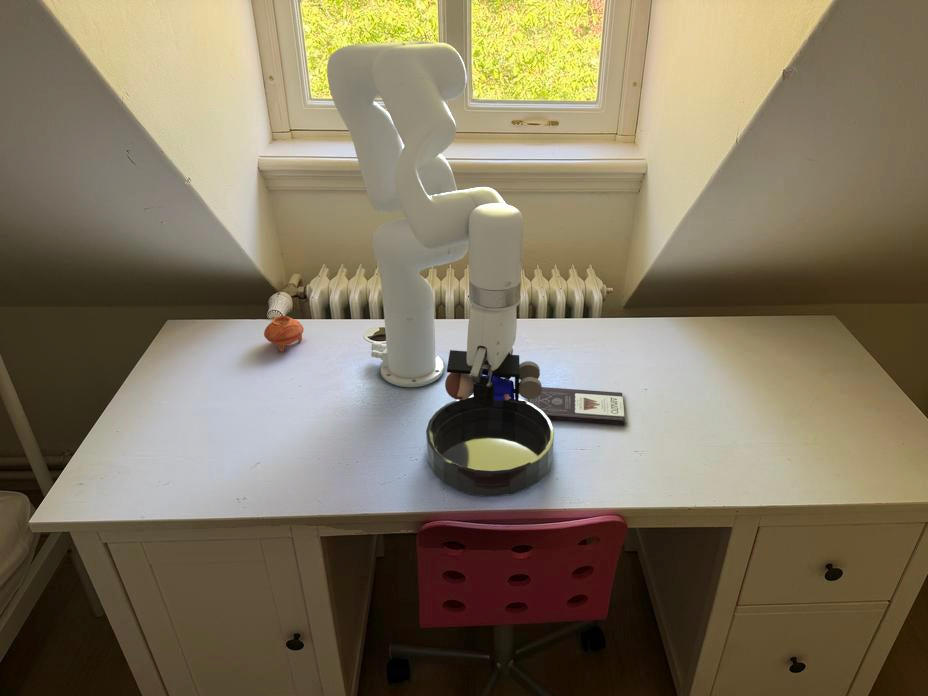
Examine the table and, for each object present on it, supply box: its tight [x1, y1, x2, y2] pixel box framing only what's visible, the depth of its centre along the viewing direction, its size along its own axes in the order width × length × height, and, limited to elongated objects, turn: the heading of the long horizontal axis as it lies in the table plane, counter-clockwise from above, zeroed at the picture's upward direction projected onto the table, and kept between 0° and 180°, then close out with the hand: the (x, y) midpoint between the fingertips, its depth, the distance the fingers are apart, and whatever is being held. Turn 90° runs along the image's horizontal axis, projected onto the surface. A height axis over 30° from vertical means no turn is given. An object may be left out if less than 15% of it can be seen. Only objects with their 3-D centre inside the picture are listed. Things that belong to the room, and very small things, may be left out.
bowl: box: [425, 394, 555, 497], centre depth 117 cm, size 21×21×6 cm
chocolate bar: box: [527, 386, 626, 426], centre depth 130 cm, size 9×1×18 cm
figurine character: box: [444, 349, 543, 404], centre depth 110 cm, size 7×8×15 cm
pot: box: [263, 315, 305, 353], centre depth 144 cm, size 8×8×7 cm
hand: (493, 389), depth 110 cm, fingers closed on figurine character, 7 cm apart
